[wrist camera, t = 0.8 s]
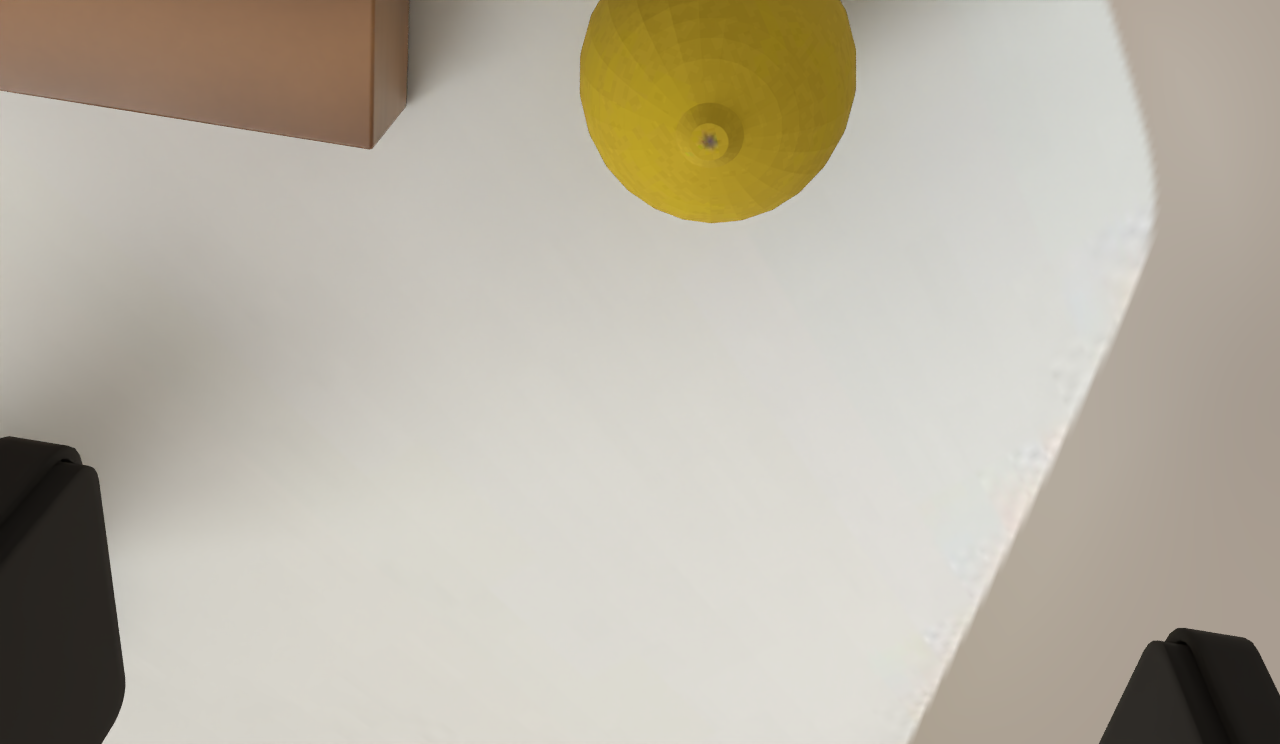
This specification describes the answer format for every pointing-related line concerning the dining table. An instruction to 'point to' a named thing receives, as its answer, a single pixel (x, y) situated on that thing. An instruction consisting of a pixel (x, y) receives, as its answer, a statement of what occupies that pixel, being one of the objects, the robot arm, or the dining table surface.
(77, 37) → the stand
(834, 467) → the dining table surface
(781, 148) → the lemon
